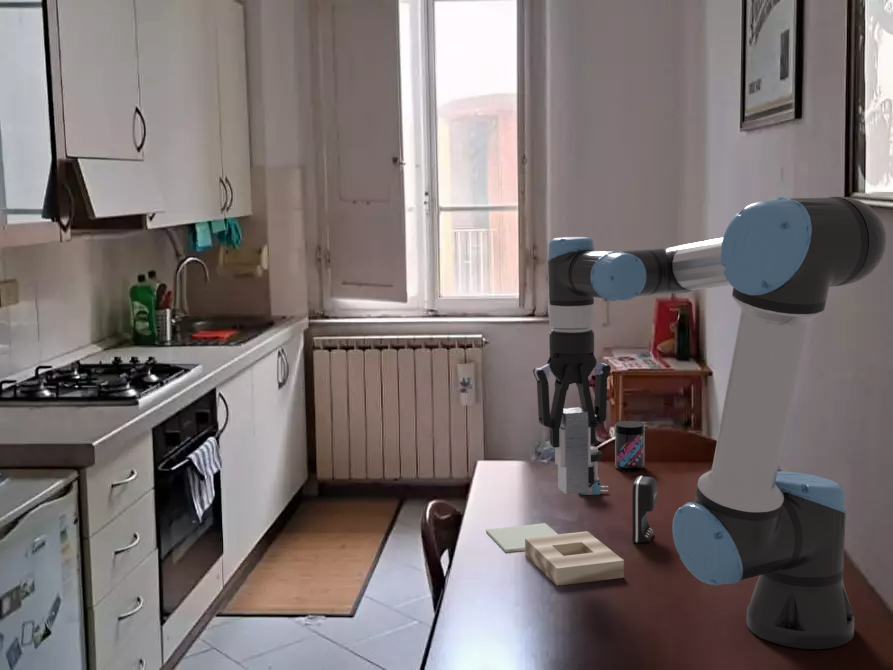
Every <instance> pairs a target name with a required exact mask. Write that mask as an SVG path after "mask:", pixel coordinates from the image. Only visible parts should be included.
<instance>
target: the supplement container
mask: <svg viewBox="0 0 893 670" xmlns="http://www.w3.org/2000/svg"><path fill="white" fill-rule="evenodd" d="M645 429H646V426H645V423H644V422H642V421H638V420H637V421H635V420H623V421H621V420H620V421H617V422H615V425H614V432H615V434H614V435H615V436H614V437H615V438H614V439H615V442H614V443H615V444H614V448H615V449H614V451H615V452H614V453H615V454H614V455H615V456H614V457H615V458H614V460H615V461H614V464H615V466H614V467H616V469H617V470H619V471H623V472H637V471H641V470H643V469H644V467H645V431H646V430H645Z"/></svg>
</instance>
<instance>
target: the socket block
mask: <svg viewBox="0 0 893 670" xmlns="http://www.w3.org/2000/svg"><path fill="white" fill-rule="evenodd" d="M557 534H558V535H549V536H540V537H531V538H525V550H524V555H525V556H526V557H527V558H528V559H529V560H530V561H531V562H532V563H533V564H534V565H536V567H537V568H538V569H540V571H541V572H542V573H543V574H545V576H546V577H547V578H548V579H549V580H551V582H552V583H554V585H555V586H559V585H560V586H566V585H575V584H581V583H590V582H599V581H606V580H614V579H622V578H624V577H625V560H624V558H622V557H620V556H619V555H618V554H616V553H615V552H614V551H613V550H611V549H610V548H609V547H608V546H606V545H605V544H604V543H603V542H602V541H600V540H599V539H598V538H596V537H595V536H594V535H593V534H592V533H590V531H578V532H569V533H557Z"/></svg>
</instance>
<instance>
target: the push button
mask: <svg viewBox="0 0 893 670" xmlns="http://www.w3.org/2000/svg"><path fill="white" fill-rule="evenodd" d="M602 454H603V453H602V451H601V450H598V447H597V446H596V445H595V446H593V445H591V465H588V492H586V493H578V495H582V496H585V495H586V496H588V495H589V496H591V495H592V496H594V495H596V496H597V495H601V492H603V493H604V492H607V493H608V492H609V490H608V489H601V488H609V486H608V485H601V481H600V478H599V475H598V466H599V465H598V462H599V461H601V456H602Z"/></svg>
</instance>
